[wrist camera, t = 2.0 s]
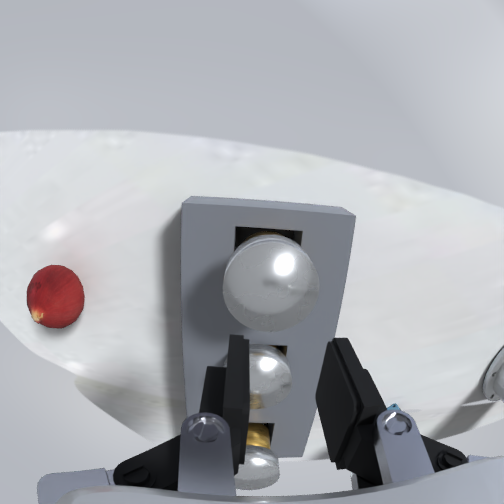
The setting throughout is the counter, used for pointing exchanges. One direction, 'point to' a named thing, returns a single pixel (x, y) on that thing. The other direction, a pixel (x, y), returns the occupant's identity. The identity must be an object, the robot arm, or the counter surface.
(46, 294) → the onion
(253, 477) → the knob
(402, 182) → the counter surface
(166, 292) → the counter surface
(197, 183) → the counter surface
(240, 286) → the knob
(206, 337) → the knob panel
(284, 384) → the knob middle
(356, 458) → the robot arm
